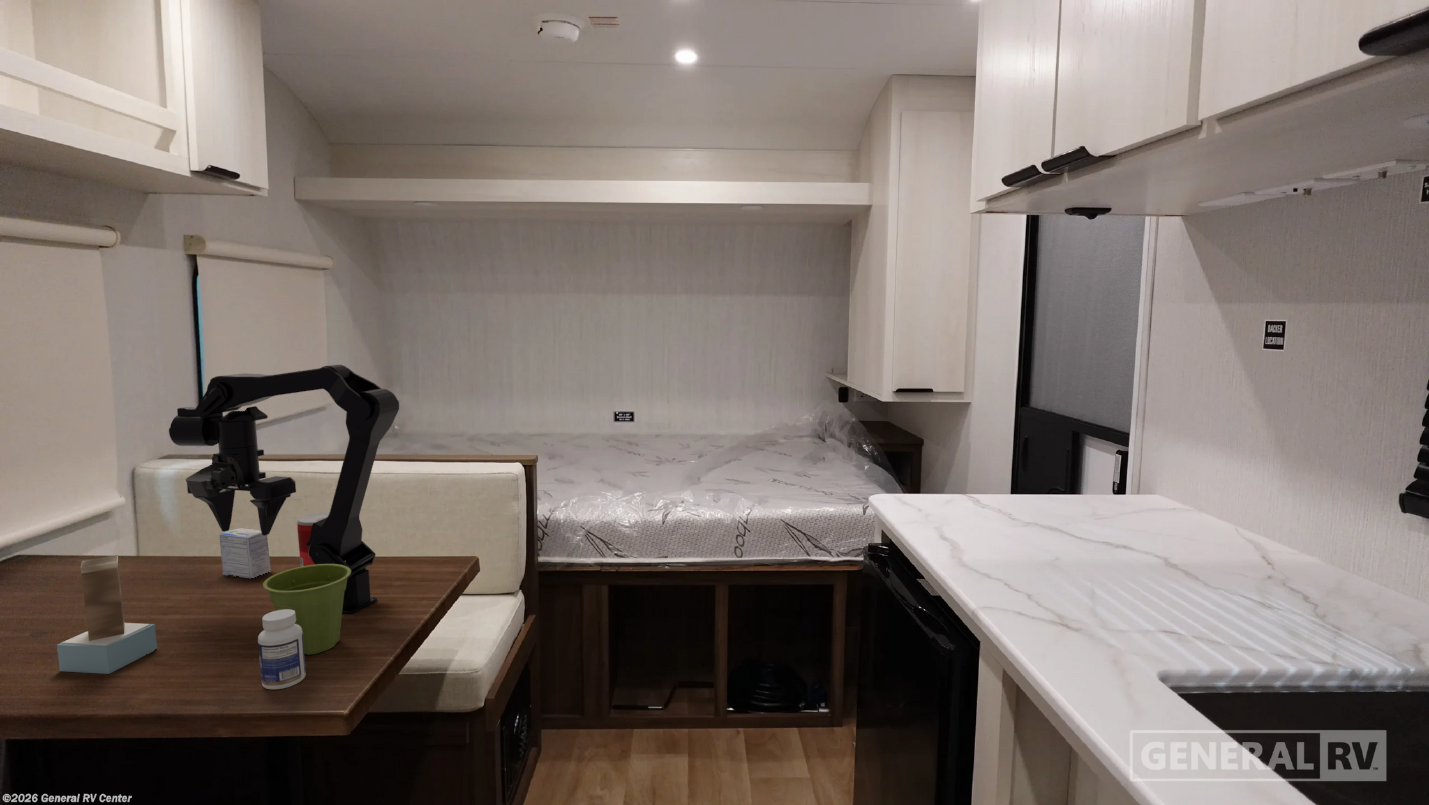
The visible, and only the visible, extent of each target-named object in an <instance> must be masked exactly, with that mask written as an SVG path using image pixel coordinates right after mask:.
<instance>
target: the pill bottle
mask: <svg viewBox="0 0 1429 805" xmlns="http://www.w3.org/2000/svg"><path fill="white" fill-rule="evenodd" d="M295 622H296V614H295V611H294V610H290V609H283V610H277V611H275V610H273V611H271V612H267V613H266V614H264V615H263V616H262V628H263V630H262V631H261V632H260V633H259V635H258V636H257V643H258V644H257V645H258V654H259V655H258V657H259V658H258V659H259V667H260V679H261V684H262V687H263V688H264V689H268V690H280V689H286V688H291V687H293V686H295V685H298V684H299V683H300V682H302V681H303V680H304V679H305V677H306V674H307V673H306V672H307V671H306V660H305V658H306V657H305V654H304V644H303V632H302V628H301V627H300V626H299V625H297V624H294V623H295Z"/></svg>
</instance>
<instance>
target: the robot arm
mask: <svg viewBox="0 0 1429 805" xmlns="http://www.w3.org/2000/svg"><path fill="white" fill-rule="evenodd" d="M317 390H325V391H326V392H327V393H328V394H329V395H330V397H331V399H332V400H333V401H334V403H335V404H336V405H337V406H338V407H339V408H341V410H343V411H345V413H346V414H345V427H346V430H347V433H348V442H347V445H346V451H345V452H344V457H343V458H344V459H343V461H342V465H341V469H340V472H339V475H338V476H339V477H338V480H337V484H336V488H335V490H334V495H333V499H332V501H331V502H332V503H331V505H330V509H329V512H330V513H329V515H328V517H326V518H324V519H322V520H320V521H318V522H315V523H313V525H312V528H311V536H310V539H309V541H308V542H307V544H306V546H309V545H310V547H309V552H308V553H309V557H310V558H311V559H312V561H313V562H314V564H315V565H317V564H339V565H344V566H347V567H349V568H350V569H351V574H350V575H349V577H347V584H346V589H345V591H344V599H343V608H342V613H345V614H353V613H355V612H357V611H359V610H361V609H363V608H366V607H367V606H369V605H371V604H372V603H375V602H377V601H378V597H376V596H371V584H370V570H369V569H366V568H368V567H370V566H371V565H373V564H374V561H375V558H376V553H375V551H374V550H372V549H371V548H370V547H369V546H368V545H367V544H366V543H365V542H364V541H363V540H362V538H363V527H362V523H361V519H360V514H361V510H362V506H363V502H364V499H365V495H366V492H367V489H368V484H369V481H370V478H371V474H372V471H373V467H374V463H375V461H376V460H375V459H376V456H377V452H378V449H379V445H380V443H381V441H382V439H383V438H384V437H385V435H386V434H387V433H388V431H389V430H390V428H391V427H392V425H393V423H394V421H395V419H396V417H397V415H398V413H399V411H400V410H399V409H400V402H399V400H398V398H397V397H396V395H395V394H394V392H392V391H391V390H388V389H386V388H382V387H380V386H379V385H377V384H376V383H375V382H373V381H372V380H369V379H367V378H366V377H362V376H361V375H359V374H356V373H355V372H354V371H352V370H351V369H350V368H349V367H347V366H346V365H343V364H331V365H324V366H321V367H318V368H311V369H306V370H305V369H304V370H300V371H299V370H297V371H292V372H284V373H277V374H271V375H270V374H263V373H244V372H243V373H235V374H234V373H233V374H227V375H226V374H225V375H218V376H217V375H216V376H214V377H212V378H211V379H210V380H209V382H208V385H207V388H206V392H205V393H204V394H203V396H202V398H200V401H199V402H198V404H197V405H196V407H193V406H185V407H179V408H177V409H176V410H177V411H176V412H177V413H176V414H177V415H176V416H174V417H173V420H171V423H170V427H168V435H169V438H170V440H171V442H173V443H174V445H176V446H181V447H213V446H216V445H218V452H217V453H212V457H211V464H210V465H208V466H204V467H202V469H199V470H198V471H197V472H194V473H193V474H191V475H190V476H188V477H187V478H185V482H186V488H187V494H191V495H192V496H193V498H195V499H198V500H201V501H202V502H204V503H205V504H207V506H208V507H209V510H211V512H212V514H213V517H214V518H215V520H216V522H217V524H218V526H219V528H220V529H221V531H222V533H224V532H227V531H230V528H231V524H232V517H233V510H234V503H235V502H234V501H235V497H236V496H235V494H236V491H242V492H245V491H246V492H249V494H250V496H251V497H252V498H253V499H251V500H249V502H250V503H251V504H252V505H254V506H255V507H256V508H257V514H258V520H259V521H258V522H259V527H260V530H261V532H262V535H263V536H265V535H267V536H268V535H270V533H271V530H272V528H273V526H274V524H275V522H276V519H277V517H278V514H279V513H280V510H281V509H282V506H284V503H285V501H286V500H287V498H290V497H291V495H292V494H295V493H297V485H296V480H295V479H293V478H292V477H291V476H279V475H278V476H277V475H275V476H272V477H266V476H267V475H266V471H260V470H261V469H260V460H259V457H261V456H265V450H264V449H260V448H259V447H258V435H257V434H258V433H257V422H258V421H262V420H267V419H268V417H269V416H268V414H266V413H265V412H263V411H262V410H260V409H259V408H258V406H256V405H254V404H257V403H261V402H263V401H266V400H268V399H270V398H272V397H273V398H274V397H276V396H282V395H290V394H296V393H303V392H311V391H317ZM252 405H254V406H252ZM248 406H249V407H248ZM243 407H246V409H245V410H239V409H241V408H243ZM224 413H226V414H225V415H224Z"/></svg>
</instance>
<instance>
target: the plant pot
mask: <svg viewBox="0 0 1429 805" xmlns="http://www.w3.org/2000/svg"><path fill="white" fill-rule="evenodd" d="M350 574H351V569H350V568H349V567H347V566H344V565H339V564H317V565H308V566H302V567H301V566H298V567H294V568H289V569H286V570H283V571H280V572H277V573H276V574H272V575H271V576H270V577H268V578H267V579H265V580H264V582H263V583H262V588H263V589H264V590H265V591H267V592H268V595H269V599H270V601H271V603H272V604H273V606H274V607H273V608H274V611H277V610H283V609H290V610H294V611H295V614H296V622H295V623H294V624H297V625H299V626H300V627H301V628H302V632H303V644H304V655H309V656H310V655H317V654H320V653H322V652H325V651H328V650H330V649H331V648H334V647H335V646H336V644H337V643H338V642H339V641H340V637H341V636H340V635H341V628H342V627H341V625H342V617H343V612H342V608H343V599H344V591H345V589H346V584H347V577H349V575H350Z"/></svg>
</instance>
